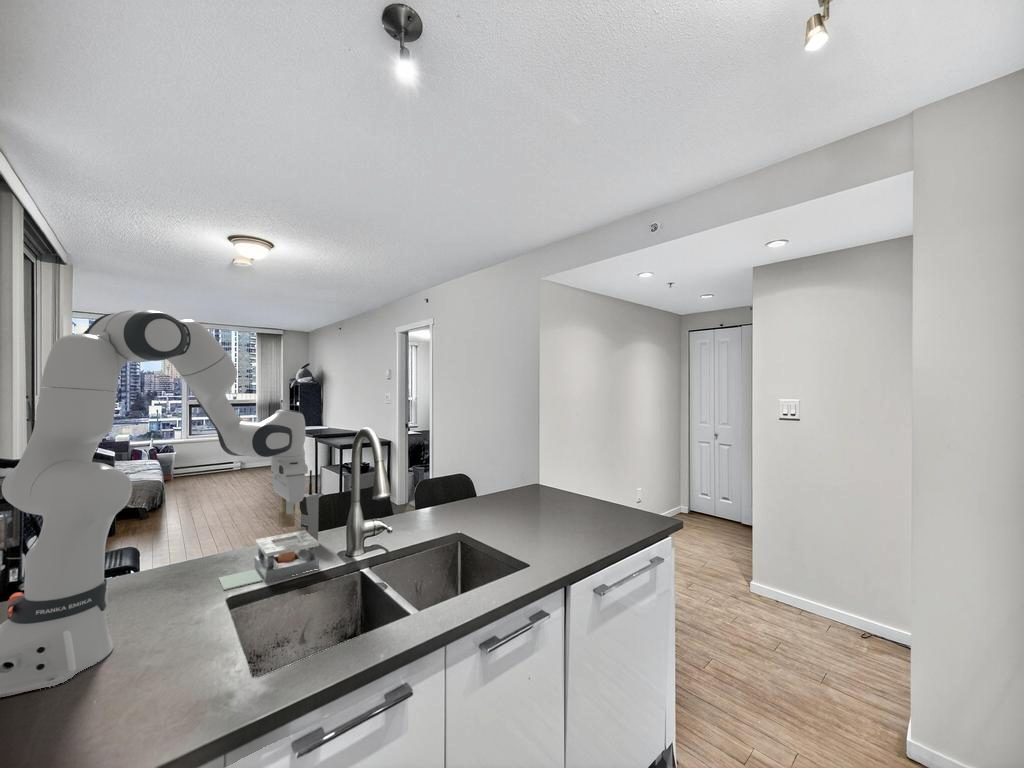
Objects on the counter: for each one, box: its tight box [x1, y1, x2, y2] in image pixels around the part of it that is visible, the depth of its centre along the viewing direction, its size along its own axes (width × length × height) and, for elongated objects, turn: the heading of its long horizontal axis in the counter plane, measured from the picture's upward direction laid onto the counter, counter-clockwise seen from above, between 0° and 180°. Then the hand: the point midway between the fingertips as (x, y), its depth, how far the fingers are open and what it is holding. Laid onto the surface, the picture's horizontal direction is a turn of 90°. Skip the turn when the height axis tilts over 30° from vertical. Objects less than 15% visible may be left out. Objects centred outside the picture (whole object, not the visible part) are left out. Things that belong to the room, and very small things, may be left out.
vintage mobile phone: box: [298, 469, 320, 542], centre depth 153 cm, size 4×5×25 cm
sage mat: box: [217, 569, 263, 591], centre depth 124 cm, size 9×9×1 cm
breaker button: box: [278, 551, 295, 564], centre depth 133 cm, size 4×4×4 cm
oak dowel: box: [278, 494, 296, 529], centre depth 133 cm, size 4×4×9 cm
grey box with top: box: [254, 530, 320, 584], centre depth 133 cm, size 14×14×8 cm
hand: (286, 511), depth 133 cm, fingers closed on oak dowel, 3 cm apart
